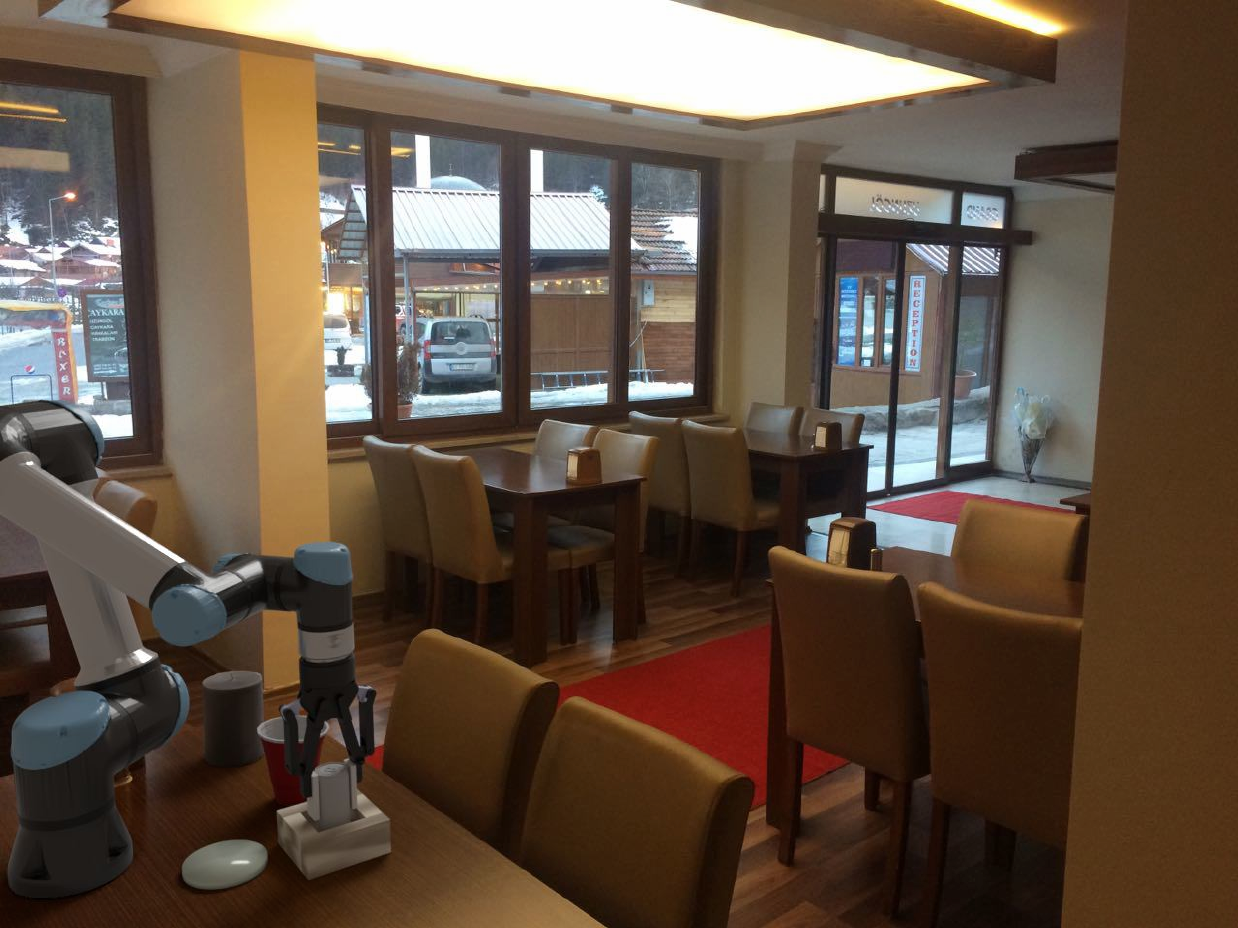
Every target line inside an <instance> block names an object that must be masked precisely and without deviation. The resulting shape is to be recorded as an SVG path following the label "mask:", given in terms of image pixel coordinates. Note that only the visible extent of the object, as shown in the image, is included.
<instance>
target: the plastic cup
mask: <svg viewBox="0 0 1238 928" xmlns="http://www.w3.org/2000/svg"><path fill="white" fill-rule="evenodd" d="M306 719H307V715H299V717H298V718H297V723H298V735H299V760H300V756H301V751H302V746H303V741H304V736H305V731H306V726H307V723H306ZM329 730H330V725H329V722H327V721H325V723H324V727H323V729H322V730H321V735H320V739H319V744H318V749H317V754H316V759H315V764H314V769H313V771H315V769H316V767H318V766H320V762H321V761H320V760H321V754H322V747H323V745H324V740H325V739H326V735H327V734H328V732H329ZM257 731H258V735H259V737H260V738H261V741H262V745H263V749H264V752H265V753H264V755H265V759H266V765H267V770H268V773H269V774H268V775H269V778H270V783H271V785H272V790H273V793H274V799H275V801H276V803H277V804H279V805H281V806H285V807H291V806H294V805H298V804H301V803H305V802H307V798H305V797H304V796H303V795H302V794H301V792H300V776H296V777H294V776H292V775H291V774H290V773H289V772H288V771H287V770H286V768H285V750H284V725H283V719H282V716H280V717H274V718H270V719H268V720H266V721H264V722H263V723H261V724H260V726H259V727H258V728H257Z"/></svg>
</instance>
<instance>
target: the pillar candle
mask: <svg viewBox="0 0 1238 928" xmlns="http://www.w3.org/2000/svg"><path fill="white" fill-rule="evenodd" d="M201 684H202V711H203V740H204V744H203V745H204V759H205V762H206V764H208V765H210V766H212V767H218V768H238V767H243V766H245V765H246V766H247V765H249V763H250V764H252V763H254V762H253V761H255V760H256V761H258V760H257V759H259V758H260V757H261V756H262V755H263V754H264V755H265V753H264V749H263V745H262V741H261V738H260V737H259V735H258V731H257V728H258V727H259V726H260V724H261V723H263V722H265V720H264V717H265V716H264V715H265V714H264V692H263V689H264V688H263V677H262V674H261V673H259V672H257V671H256V672H255V671H250V670H236V671H235V670H231V671H224V672H217V673H216V674H214V675H210V676H208V677H207V678H205V679H204V680H203V681H202V683H201ZM264 755H263V756H264ZM263 756H262V757H263ZM262 757H261V758H262ZM261 758H260V759H261ZM260 759H259V760H260ZM256 761H255V762H256ZM251 762H252V763H251Z"/></svg>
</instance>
